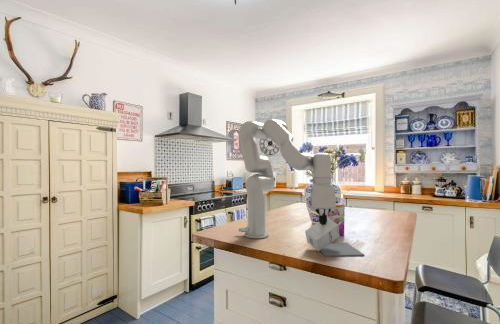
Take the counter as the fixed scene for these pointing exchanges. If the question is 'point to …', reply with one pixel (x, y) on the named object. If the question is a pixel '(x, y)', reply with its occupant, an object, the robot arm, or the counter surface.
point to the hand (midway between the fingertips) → (323, 224)
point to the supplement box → (322, 234)
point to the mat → (340, 250)
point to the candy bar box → (338, 217)
